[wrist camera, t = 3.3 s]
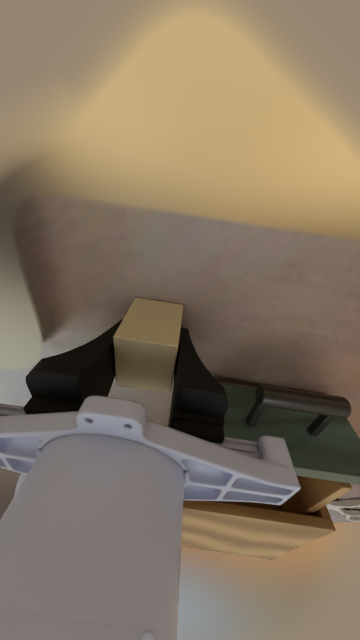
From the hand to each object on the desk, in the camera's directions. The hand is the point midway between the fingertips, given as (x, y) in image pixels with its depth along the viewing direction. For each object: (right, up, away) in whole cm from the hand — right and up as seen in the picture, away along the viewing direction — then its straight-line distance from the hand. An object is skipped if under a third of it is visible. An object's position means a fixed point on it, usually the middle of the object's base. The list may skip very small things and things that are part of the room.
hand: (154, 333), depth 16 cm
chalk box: (0, +1, +1) cm, 1 cm away
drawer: (+10, -9, +6) cm, 15 cm away
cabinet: (+8, -18, +13) cm, 23 cm away
